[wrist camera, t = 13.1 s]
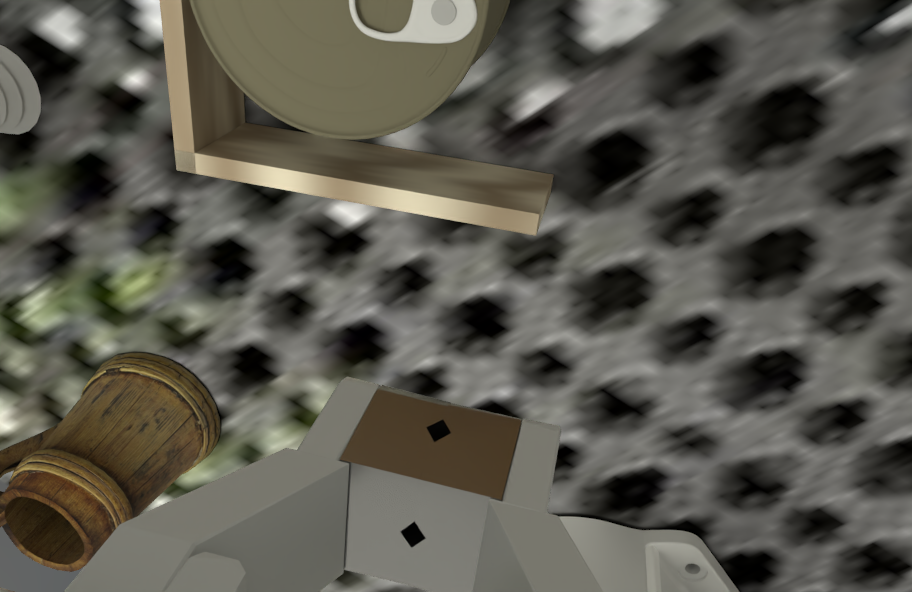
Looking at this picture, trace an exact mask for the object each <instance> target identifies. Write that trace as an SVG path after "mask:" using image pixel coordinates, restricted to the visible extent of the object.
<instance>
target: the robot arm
mask: <svg viewBox="0 0 912 592" xmlns="http://www.w3.org/2000/svg"><path fill="white" fill-rule="evenodd" d="M521 424H522V426H521ZM560 435H561V429H560V426H557V425H552V424H547V423H542V422H537V421H533V420H528V419H523V422H522V419H518V418H513V417H509V416H505V415H500V414H496V413H492V412H487V411H483V410H479V409H474V408H470V407H465V406H461V405H457V404H451V403H450V402H446V401H442V400H438V399H434V398H431V397H427V396H423V395H419V394H415V393H411V392H407V391H403V390H399V389H396V388H392V387H388V386H384V385H382V386H380V385H378V384H375V383H370V382H366V381H362V380H358V379H354V378H350V377H346V378H345V379H343V380H342V381H340V382H339V384H338V385H337V387H336V389H335V390H334V392H333V393H332V395H331V397H330V398H329V400H328V401H327V403H326V405H325V406H324V408H323V409H322V411H321V413H320V414H319V416H318V417H317V419H316V421H315V422H314V424H313V425H312V427H311V429H310V430H309V432H308V433H307V435H306V436H305V438H304V440H303V441H302V443H301V444H300V446H299V448H298V449H297V450H293V449H289V448H285V449H283V450H281V451H279V452H276V453H274V454H272V455H270V456H268V457H266V458H263V459H261V460H259V461H257V462H255V463H252V464H250V465H248V466H246V467H244V468H242V469H239V470H237V471H235V472H233V473H231V474H228V475H226V476H224V477H222V478H220V479H218V480H215V481H213V482H211V483H209V484H207V485H205V486H202V487H200V488H198V489H196V490H194V491H191V492H189V493H187V494H185V495H183V496H181V497H178V498H176V499H174V500H172V501H170V502H167V503H165V504H163V505H161V506H159V507H157V508H154V509H152V510H150V511H148V512H146V513H144V514H141V515H139V516H137V517H135V518H133V519H130V520H128V521H126V522H124V523H122V524H120V525H119V526H118V527H117V528H116V530H115V531H114V532H113V533H112V534H111V536H110V537H109V538H108V539H107V540H106V542H105V543H104V544H103V545H102V546H101V548H100V549H99V550H98V551H97V552H96V554H95V555H94V556H93V557H92V559H91V560H90V561H89V562H88V563H87V565H86V566H85V567H84V568H83V569H82V571H81V572H80V573H79V574H78V575H77V577H76V578H75V579H74V580H73V582H72V583H71V584H70V585H69V586H68V588H67V589H66V590H65V591H64V592H319V591H321V590H322V589H323V588H325V587H326V586H327V585H328V584H330V583H331V582H332V581H334V580H335V579H336V578H338V577H339V576H340V575H342V574H343V569H344V570H348V571H352V572H356V573H361V574H365V575H369V576H373V577H377V578H381V579H386V580H390V581H394V582H398V583H402V584H406V585H410V586H413V587H416V588H420V589H423V590H426V591H430V592H739V590H738V589H737V588H736V586H735V585H734V584H733V582H732V581H731V579H730V578H729V577H728V575H727V574H726V573H725V571H724V570H723V568H722V567H721V566H720V564H719V563H718V562H717V560H716V559H715V557H714V556H713V555H712V553H711V552H710V550H709V549H708V548H707V546H706V545H705V544H704V542H703V541H702V540H701V539H700V538H699V537H698V536H697V535H695V534H693V533H690V532H687V531H680V530H638V529H633V528H628V527H624V526H621V525H617V524H614V523H610V522H606V521H602V520H597V519H591V518H583V517H559V516H557V515H553V514H549V513H547V511H548V505H549V499H550V493H551V487H552V482H553V476H554V470H555V464H556V458H557V452H558V447H559V441H560ZM691 564H695V565H691ZM0 592H14V591H10V590H7V589H4V588H0Z"/></svg>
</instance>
